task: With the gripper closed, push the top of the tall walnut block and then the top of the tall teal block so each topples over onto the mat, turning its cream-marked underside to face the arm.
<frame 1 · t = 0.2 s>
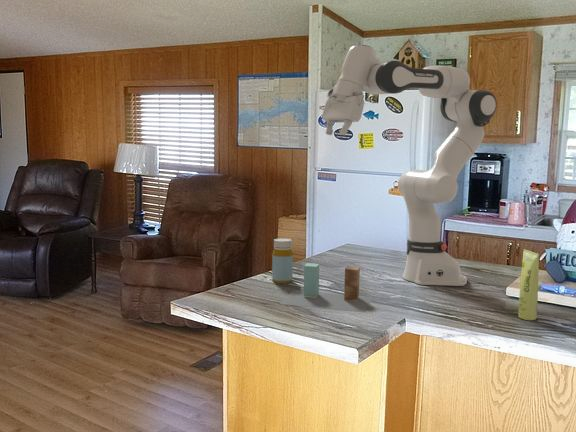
hand: (335, 134, 186), 51 cm above the countertop, tool tilted 20°, fingers open, 8 cm apart
teal block: (311, 295, 184), resting on mat
tube: (526, 318, 166), on the countertop
bottle: (282, 282, 203), on the countertop
walnut block: (351, 299, 181), resting on mat
mat: (327, 301, 179), on the countertop
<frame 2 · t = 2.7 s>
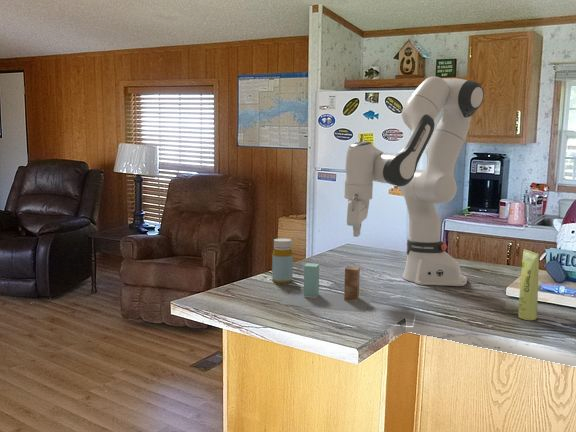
hand: (356, 235, 186), 19 cm above the countertop, tool pointing down, fingers closed
nothing on the countertop moved.
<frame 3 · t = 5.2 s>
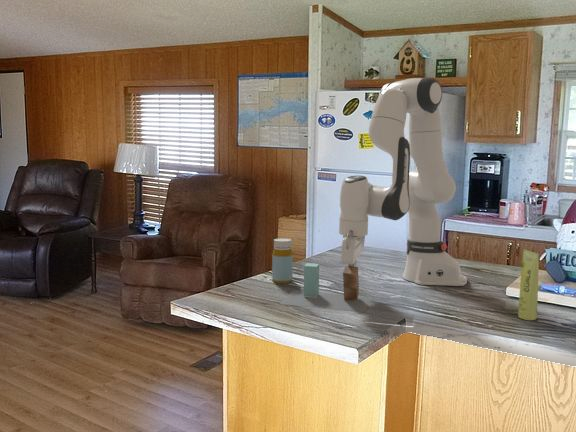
hand: (352, 272, 181), 9 cm above the countertop, tool pointing down, fingers closed
walnut block: (351, 297, 181), point 1 cm above the countertop, tilted 19°, touching mat
everything else where it was.
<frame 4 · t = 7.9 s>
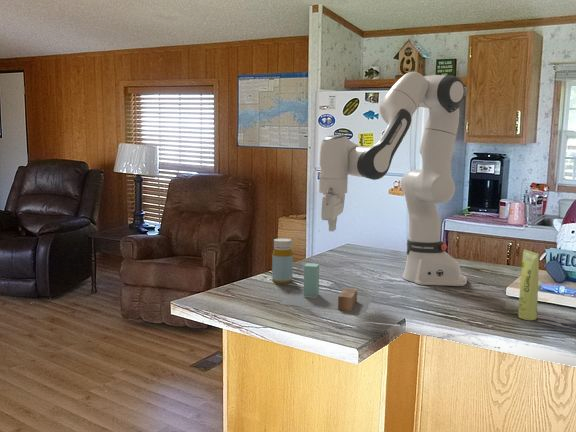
hand: (332, 230, 183), 21 cm above the countertop, tool pointing down, fingers closed
walnut block: (350, 294, 179), point 2 cm above the countertop, tilted 90°, touching mat
everything else where it was.
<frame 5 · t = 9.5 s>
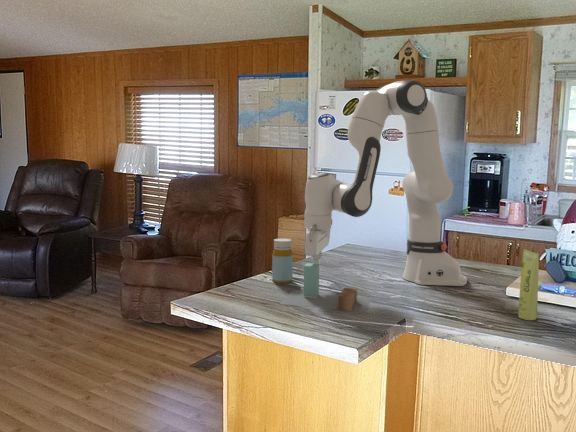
hand: (316, 264, 191), 9 cm above the countertop, tool pointing down, fingers closed
nothing on the countertop moved.
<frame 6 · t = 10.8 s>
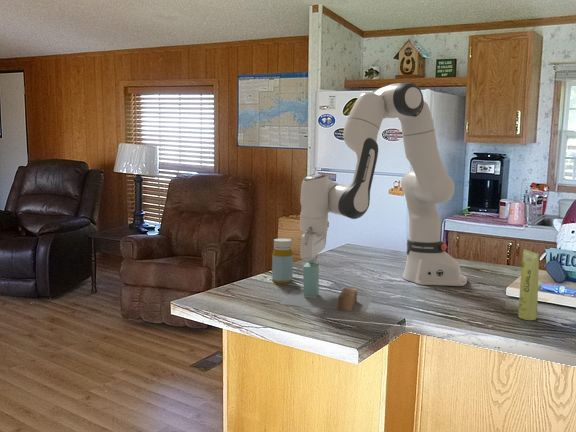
hand: (312, 267, 186), 9 cm above the countertop, tool pointing down, fingers closed
teal block: (311, 294, 184), point 1 cm above the countertop, tilted 5°, touching gripper, mat
everything else where it was.
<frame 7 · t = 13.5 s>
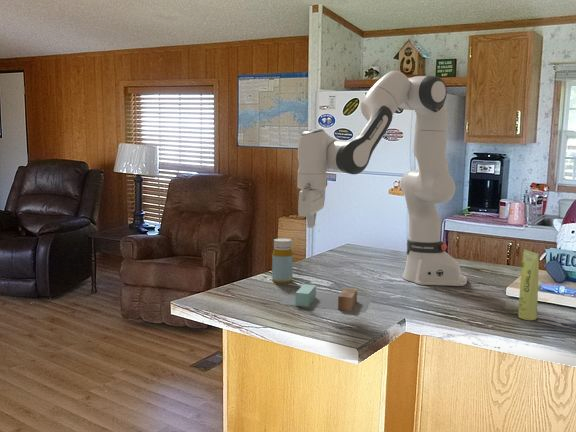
hand: (311, 227, 179), 23 cm above the countertop, tool pointing down, fingers closed
teal block: (309, 291, 182), point 2 cm above the countertop, tilted 90°, touching mat
everything else where it was.
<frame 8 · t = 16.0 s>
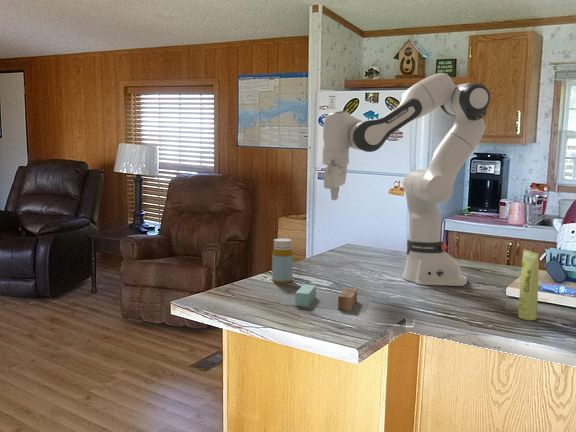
hand: (334, 199, 199), 29 cm above the countertop, tool pointing down, fingers closed
nothing on the countertop moved.
at the end: walnut block tilted 90°; teal block tilted 90°; walnut block inside the target area (7.8 cm from its centre), point 2.4 cm above the countertop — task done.
